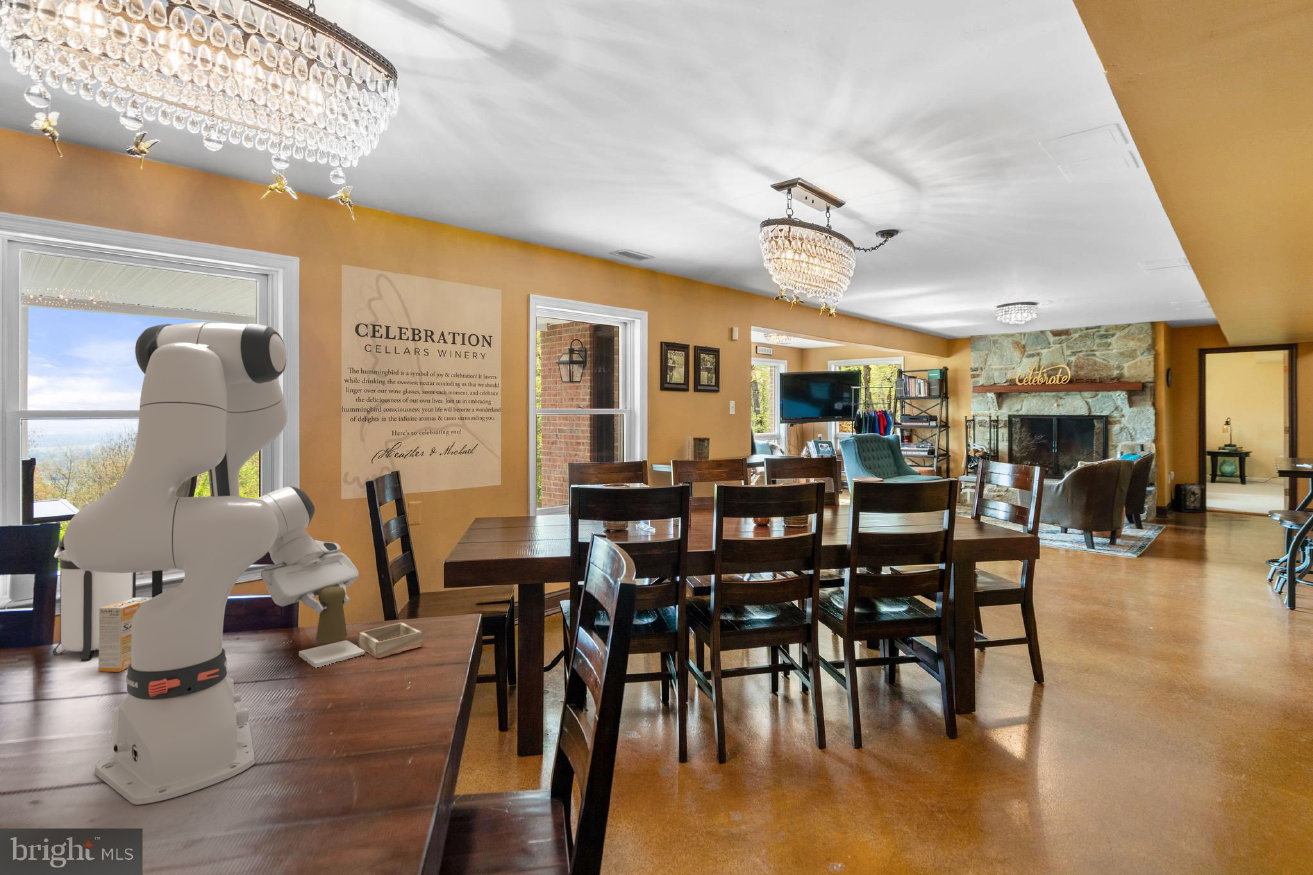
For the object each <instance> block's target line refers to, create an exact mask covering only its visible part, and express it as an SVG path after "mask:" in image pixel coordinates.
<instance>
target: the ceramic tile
mask: <svg viewBox="0 0 1313 875" xmlns="http://www.w3.org/2000/svg"><path fill="white" fill-rule="evenodd" d="M364 653H365V654H366V652H365V651H364V650H363V649H361V648H359V647H358V645H356V644H354V643H352V642H351V641H349V640H347V639H345V640H342V641H341V640H339V641H335V642H331V643H328V644H325V645H323V644H322V645H319V646H316V647H312V648H308V649H302V650H299V651H298V657H299V658H301V659H302V660H303V661H305V662H306V661H307V662H306V663H308V664H309V665H310V666H312V668H314V667H315V668H314V669H318V668H317V667H319V668H323V667H325V666H324V665H326V666H330V665H332V664H331V663H334V664H336V663H335V662H336V661H342V660H345V659H348V658H352V657H354V656H358V655H360V654H364ZM342 662H343V661H342ZM329 664H330V665H329ZM322 666H323V667H322Z"/></svg>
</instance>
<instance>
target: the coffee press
mask: <svg viewBox="0 0 1313 875" xmlns="http://www.w3.org/2000/svg"><path fill="white" fill-rule="evenodd" d="M53 557H54V558H55V559H57V558H59V569H60V574H59V575H60V579H59V580H60V584H59V587H60V590H59V593H60V594H59V603H60V604H59V605H60V606H59V624H60V625H59V643H57V646H55V648H54V649H53V650H52V654H53V655H54V656H59V655H61V654H63V653H64V652H65V651H69V652H81V655H80V661H81V662H84V661H91V660H92V657H93V654H94V652H95V651H96V650H97V651H99V614H100V613H99V612H100V611H99V609H100V607H104V606H108V605H112V604H115V603H118V602H122V601H125V600H129V599H132V598H137V597H136V596H137V594H136V592H137V588H136V587H137V585H136V584H137V572H133V573H108V572H95V571H85V570H81V569H80V568H79V567H77V566H76V565H75V564H74V563H73V562H72V561H71V560H70V559H69V557H68V555H67V553H66V551H65V548H64V535H63V536H62V538H61V540H59V541H58V546H57V548H56V550H55V553H54V555H53ZM163 571H164V570H158V571H151V598H153V597H155V596H157V595H159V594H161V593H163V588H164V587H163V582H164V581H163V574H164V572H163ZM60 645H61V647H62V648H63V649H64V650H62V651H61V652H58V651H57V649H58V647H60Z"/></svg>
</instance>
